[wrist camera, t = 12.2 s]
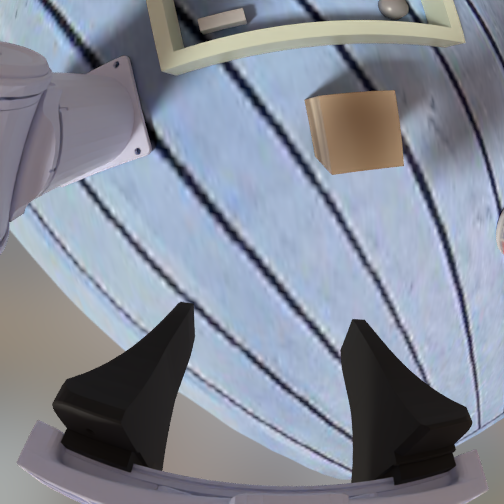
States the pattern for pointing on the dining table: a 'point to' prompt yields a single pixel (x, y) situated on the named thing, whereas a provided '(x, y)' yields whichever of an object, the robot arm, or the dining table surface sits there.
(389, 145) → the maple block
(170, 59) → the rectangular frame
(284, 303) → the dining table surface
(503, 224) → the pill bottle
